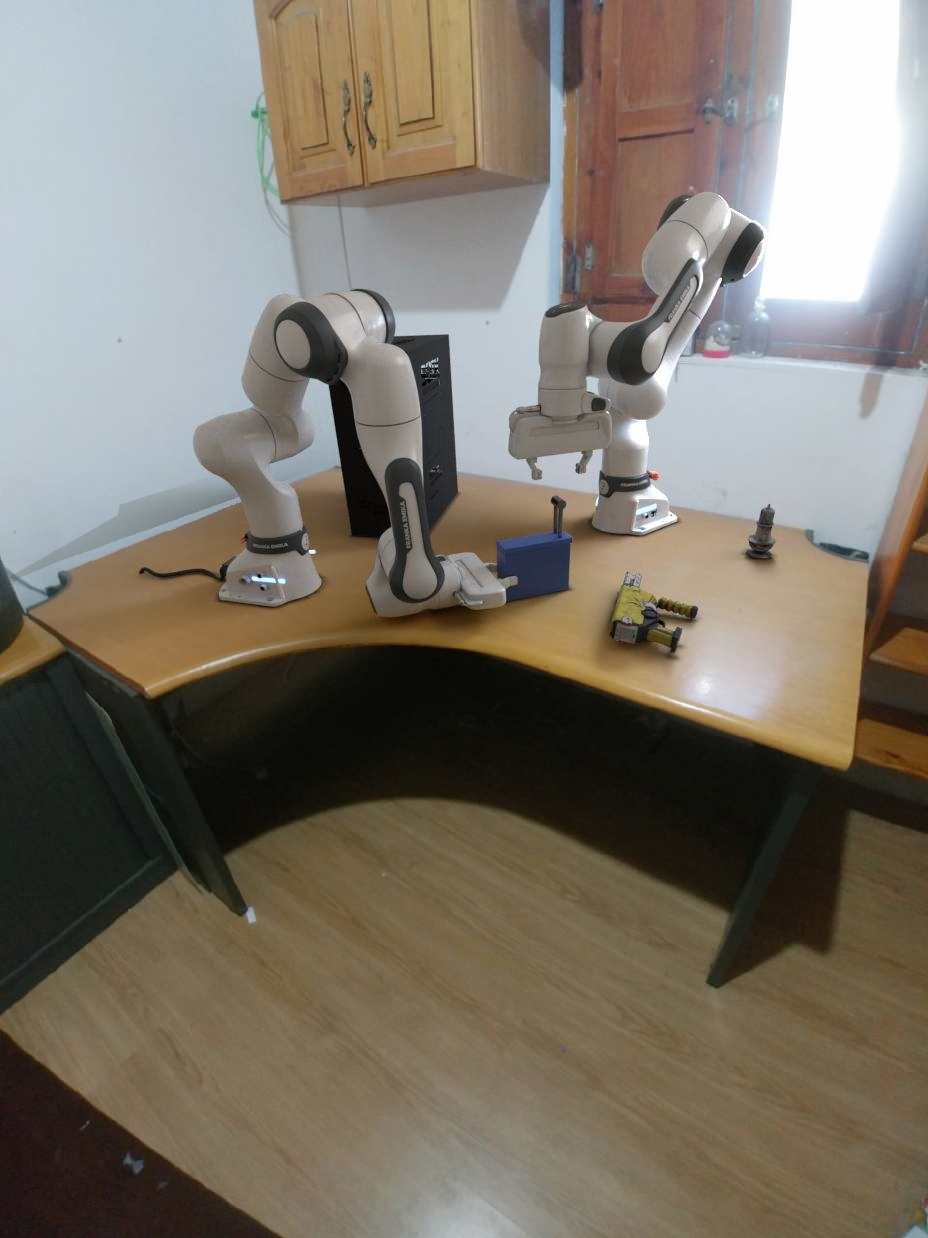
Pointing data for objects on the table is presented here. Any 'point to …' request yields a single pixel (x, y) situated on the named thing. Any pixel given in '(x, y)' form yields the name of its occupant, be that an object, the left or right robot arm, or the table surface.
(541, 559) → the chest
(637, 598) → the toy gun
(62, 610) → the table surface
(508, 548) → the lid
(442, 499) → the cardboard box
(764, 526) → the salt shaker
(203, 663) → the table surface
